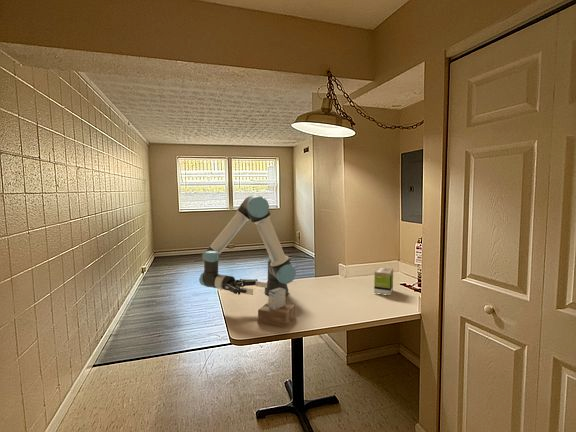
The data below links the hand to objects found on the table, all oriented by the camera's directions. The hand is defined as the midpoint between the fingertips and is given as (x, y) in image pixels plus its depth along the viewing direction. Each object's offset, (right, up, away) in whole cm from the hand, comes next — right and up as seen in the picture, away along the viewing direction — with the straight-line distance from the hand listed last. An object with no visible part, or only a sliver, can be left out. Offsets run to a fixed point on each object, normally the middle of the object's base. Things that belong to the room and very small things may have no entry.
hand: (260, 288), depth 156 cm
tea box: (+77, -14, +47) cm, 91 cm away
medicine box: (+9, -9, -3) cm, 13 cm away
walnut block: (+9, -15, -3) cm, 18 cm away
